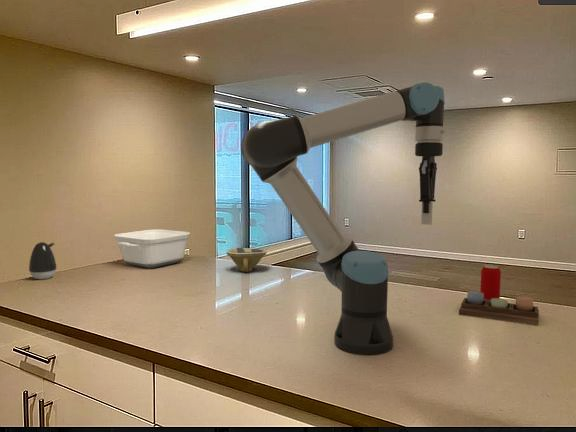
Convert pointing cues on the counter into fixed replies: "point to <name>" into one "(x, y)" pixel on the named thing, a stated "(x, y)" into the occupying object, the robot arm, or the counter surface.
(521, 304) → the terracotta button
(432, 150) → the robot arm
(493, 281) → the beverage can
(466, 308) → the panel
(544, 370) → the counter surface
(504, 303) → the sage button
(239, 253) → the bowl
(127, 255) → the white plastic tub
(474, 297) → the slate button
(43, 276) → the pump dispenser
